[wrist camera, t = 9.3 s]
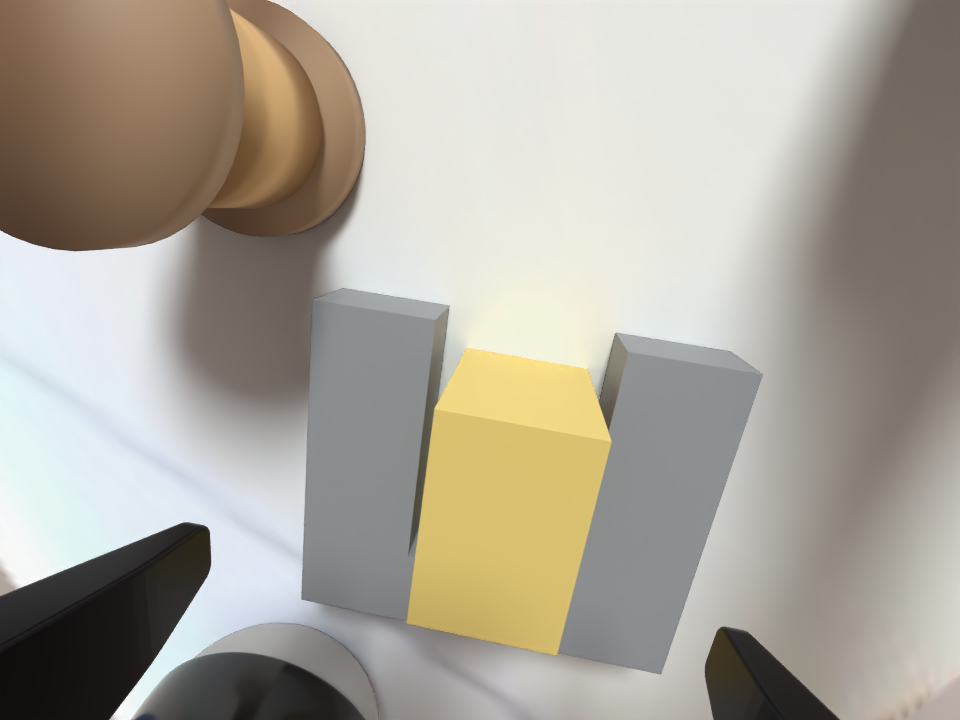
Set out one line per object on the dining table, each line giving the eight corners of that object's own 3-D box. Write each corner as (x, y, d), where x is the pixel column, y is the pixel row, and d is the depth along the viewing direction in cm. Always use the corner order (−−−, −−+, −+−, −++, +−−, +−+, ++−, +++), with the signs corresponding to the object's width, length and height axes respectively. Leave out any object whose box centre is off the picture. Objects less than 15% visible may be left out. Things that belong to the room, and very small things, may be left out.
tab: (551, 528, 20) (556, 655, 14) (443, 507, 20) (406, 623, 14) (587, 368, 18) (611, 441, 12) (466, 347, 18) (434, 408, 12)
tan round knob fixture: (372, 22, 15) (206, -172, 8) (358, 248, 17) (216, 275, 10) (162, -4, 16) (-196, -213, 8) (173, 219, 18) (-102, 223, 10)
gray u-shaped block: (730, 351, 17) (762, 374, 14) (646, 620, 20) (660, 674, 18) (342, 288, 18) (312, 299, 15) (327, 556, 21) (301, 599, 19)
